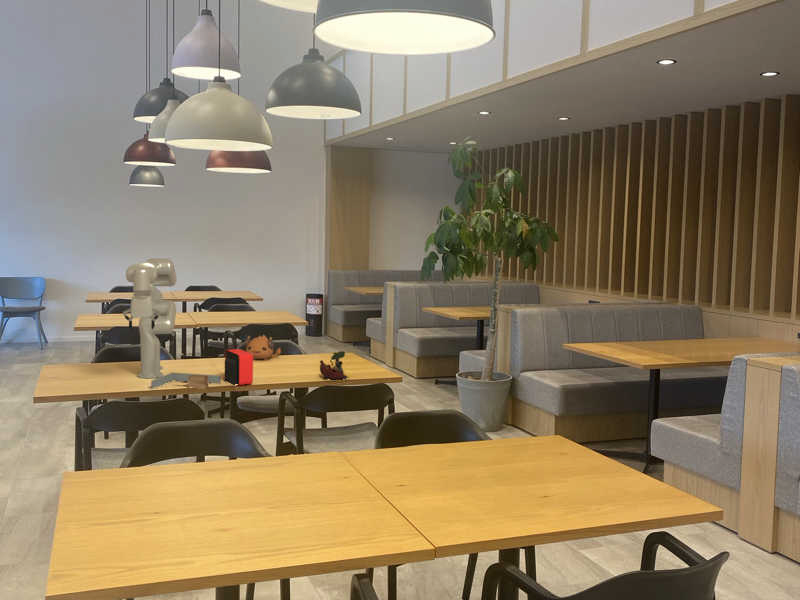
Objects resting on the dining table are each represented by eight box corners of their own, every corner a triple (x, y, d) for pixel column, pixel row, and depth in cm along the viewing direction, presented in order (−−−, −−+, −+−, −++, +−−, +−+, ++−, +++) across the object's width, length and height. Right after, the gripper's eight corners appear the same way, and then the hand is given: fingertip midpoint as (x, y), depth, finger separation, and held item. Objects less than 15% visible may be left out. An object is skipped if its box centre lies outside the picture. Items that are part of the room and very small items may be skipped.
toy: (240, 359, 446) (242, 333, 447) (250, 359, 463) (252, 334, 464) (272, 361, 443) (273, 335, 444) (281, 361, 460) (282, 336, 461)
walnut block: (192, 386, 375) (192, 374, 374) (208, 387, 374) (208, 375, 373) (188, 388, 370) (188, 376, 370) (204, 389, 369) (204, 377, 368)
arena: (172, 380, 388) (172, 372, 387) (220, 383, 383) (220, 375, 383) (151, 388, 367) (151, 380, 366) (202, 392, 362) (202, 383, 362)
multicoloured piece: (349, 381, 396) (349, 353, 395) (320, 382, 394) (320, 353, 393) (347, 376, 410) (347, 349, 409) (319, 376, 408) (319, 349, 406)
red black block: (235, 387, 375) (235, 355, 374) (220, 379, 392) (221, 349, 391) (253, 385, 381) (253, 354, 379) (238, 378, 397) (239, 348, 396)
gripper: (160, 293, 374) (160, 328, 376) (122, 293, 369) (122, 328, 370) (160, 294, 367) (160, 329, 369) (122, 294, 361) (122, 330, 363)
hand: (141, 329), depth 369 cm, fingers open, 9 cm apart
